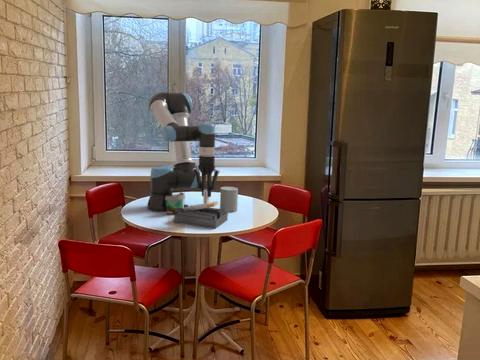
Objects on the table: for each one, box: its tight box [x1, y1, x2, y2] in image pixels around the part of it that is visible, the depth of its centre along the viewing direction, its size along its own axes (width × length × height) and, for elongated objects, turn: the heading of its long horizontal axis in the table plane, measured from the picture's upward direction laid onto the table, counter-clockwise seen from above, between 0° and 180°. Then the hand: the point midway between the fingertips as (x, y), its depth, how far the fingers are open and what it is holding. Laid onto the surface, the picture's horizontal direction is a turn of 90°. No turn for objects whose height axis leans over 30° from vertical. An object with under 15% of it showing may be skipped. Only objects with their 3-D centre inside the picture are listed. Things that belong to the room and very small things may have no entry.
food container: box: [165, 191, 186, 216], centre depth 248 cm, size 12×6×10 cm, turn 148°
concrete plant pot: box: [219, 186, 239, 214], centre depth 258 cm, size 10×10×12 cm
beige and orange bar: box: [182, 201, 219, 211], centre depth 235 cm, size 18×5×2 cm, turn 71°
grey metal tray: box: [173, 204, 229, 230], centre depth 236 cm, size 22×16×7 cm
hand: (206, 203), depth 234 cm, fingers closed
